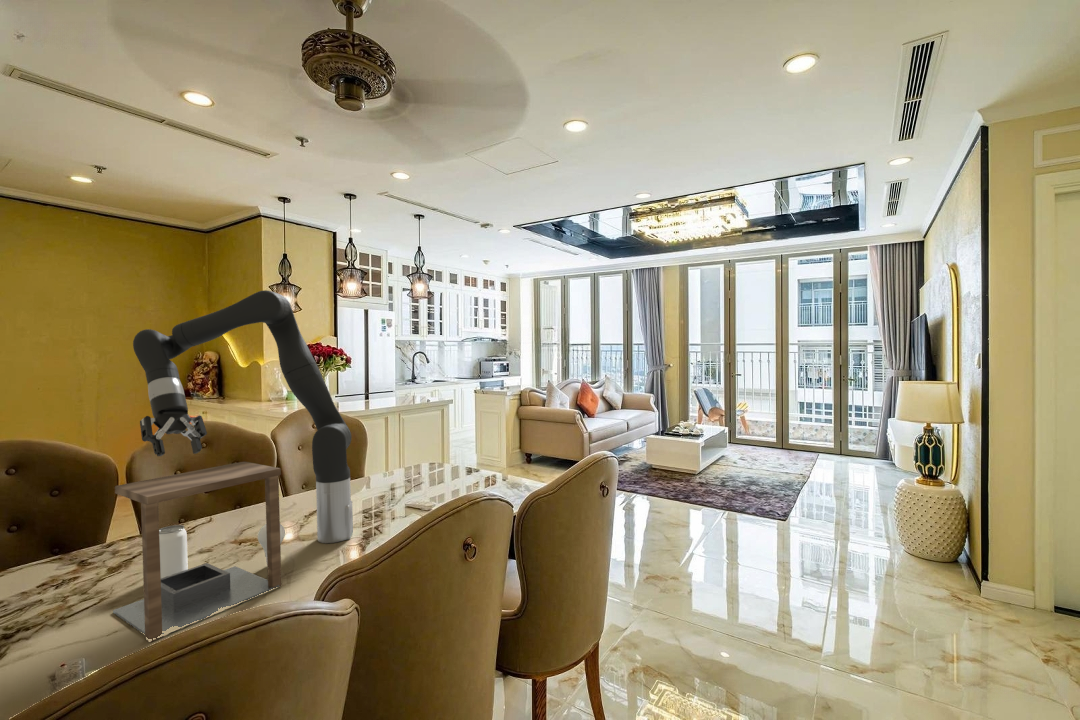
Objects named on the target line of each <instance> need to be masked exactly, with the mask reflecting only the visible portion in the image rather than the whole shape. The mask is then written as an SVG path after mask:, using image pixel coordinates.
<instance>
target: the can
mask: <svg viewBox="0 0 1080 720" xmlns="http://www.w3.org/2000/svg"><path fill="white" fill-rule="evenodd" d="M187 534H188V533H187V530H186V529H185V525H182V524H174V525H169V526H164V527H161V528H159V541H160V573H161V578H164V577H167V576H170V575H173V574H176V573H179V572H182V571H185V570H188V569H189V565H188V564H189V563H188V562H189V560H188V535H187Z"/></svg>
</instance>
